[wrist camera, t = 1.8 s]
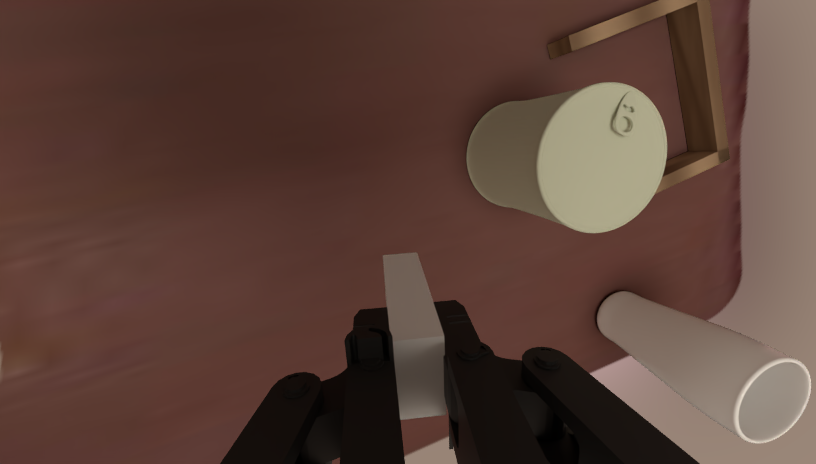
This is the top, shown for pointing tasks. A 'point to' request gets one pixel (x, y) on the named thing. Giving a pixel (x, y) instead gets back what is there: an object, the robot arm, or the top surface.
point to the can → (572, 156)
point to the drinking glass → (710, 366)
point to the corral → (678, 78)
